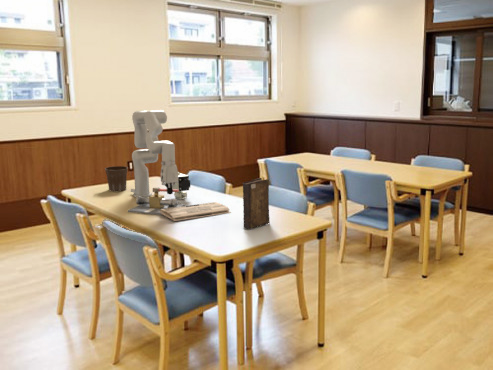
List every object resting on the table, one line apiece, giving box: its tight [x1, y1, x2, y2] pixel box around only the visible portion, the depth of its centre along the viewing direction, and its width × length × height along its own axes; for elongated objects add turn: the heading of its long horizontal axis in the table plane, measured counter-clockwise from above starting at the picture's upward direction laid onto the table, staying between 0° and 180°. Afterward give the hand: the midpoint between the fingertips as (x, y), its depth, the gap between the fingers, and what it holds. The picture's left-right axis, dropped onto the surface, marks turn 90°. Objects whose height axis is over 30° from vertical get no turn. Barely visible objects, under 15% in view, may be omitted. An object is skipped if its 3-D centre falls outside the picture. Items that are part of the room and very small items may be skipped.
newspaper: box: [160, 201, 231, 222], centre depth 284 cm, size 37×19×3 cm, turn 124°
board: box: [127, 203, 186, 216], centre depth 295 cm, size 26×25×1 cm
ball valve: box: [172, 171, 191, 200], centre depth 321 cm, size 18×8×18 cm, turn 36°
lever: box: [152, 187, 179, 193], centre depth 292 cm, size 16×4×2 cm, turn 77°
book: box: [242, 177, 270, 230], centre depth 257 cm, size 17×7×25 cm, turn 133°
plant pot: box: [104, 165, 129, 192], centre depth 350 cm, size 16×16×16 cm
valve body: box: [135, 192, 179, 209], centre depth 295 cm, size 25×6×9 cm, turn 71°
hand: (169, 193), depth 289 cm, fingers closed
